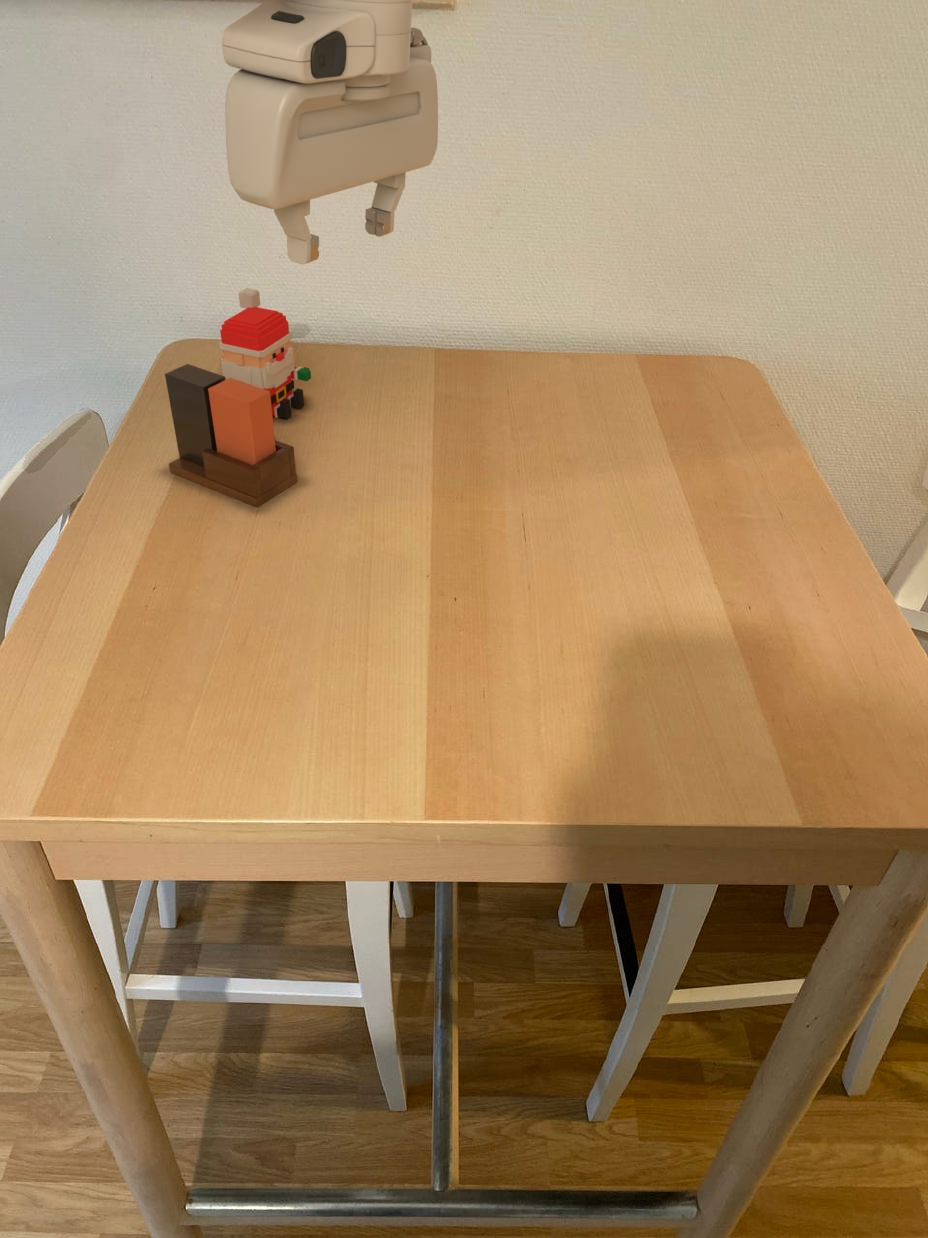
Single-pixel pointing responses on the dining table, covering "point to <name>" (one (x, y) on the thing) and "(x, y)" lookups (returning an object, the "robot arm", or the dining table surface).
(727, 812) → the dining table surface
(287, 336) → the figurine
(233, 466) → the mount
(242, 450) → the orange rectangular block
